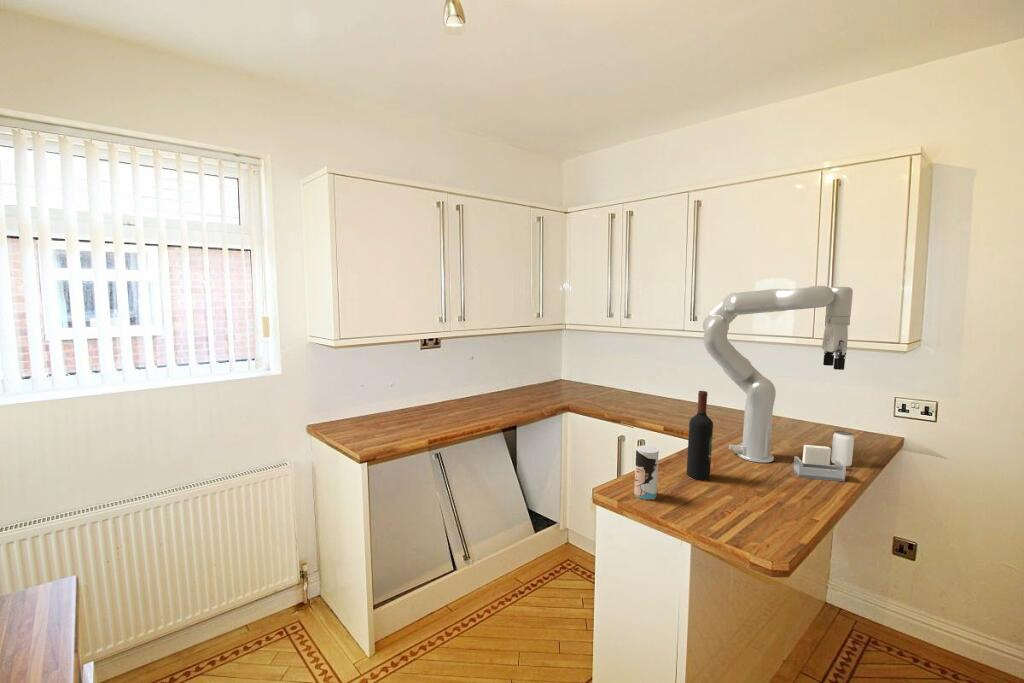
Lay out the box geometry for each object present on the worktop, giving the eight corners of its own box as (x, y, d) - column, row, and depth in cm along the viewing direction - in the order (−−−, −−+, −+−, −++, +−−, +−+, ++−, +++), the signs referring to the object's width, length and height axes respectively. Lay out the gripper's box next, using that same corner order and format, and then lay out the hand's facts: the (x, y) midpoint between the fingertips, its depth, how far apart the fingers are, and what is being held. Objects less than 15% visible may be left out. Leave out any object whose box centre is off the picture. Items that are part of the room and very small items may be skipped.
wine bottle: (683, 472, 169) (688, 389, 166) (705, 472, 169) (710, 389, 166) (690, 480, 162) (695, 393, 158) (713, 481, 162) (718, 394, 158)
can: (831, 459, 184) (834, 429, 183) (852, 463, 180) (855, 432, 179) (829, 464, 179) (832, 433, 178) (850, 468, 175) (853, 436, 174)
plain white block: (804, 467, 175) (806, 446, 174) (801, 465, 178) (803, 444, 177) (829, 470, 173) (830, 449, 172) (826, 467, 176) (828, 446, 175)
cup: (640, 489, 154) (642, 444, 153) (659, 495, 150) (662, 448, 148) (630, 495, 149) (632, 449, 148) (650, 502, 145) (652, 454, 143)
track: (798, 477, 166) (799, 462, 165) (793, 470, 172) (794, 456, 171) (844, 481, 163) (846, 466, 162) (837, 475, 168) (838, 460, 168)
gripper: (817, 319, 183) (813, 363, 185) (835, 322, 166) (830, 370, 168) (839, 319, 181) (835, 364, 183) (860, 322, 164) (855, 371, 166)
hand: (833, 367), depth 175 cm, fingers open, 9 cm apart
